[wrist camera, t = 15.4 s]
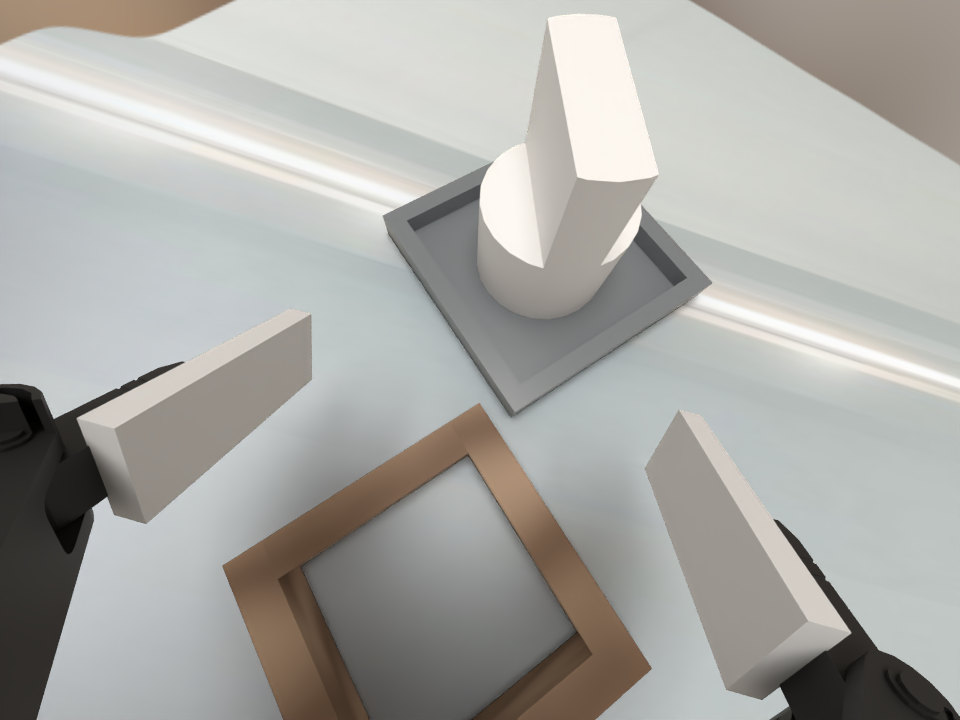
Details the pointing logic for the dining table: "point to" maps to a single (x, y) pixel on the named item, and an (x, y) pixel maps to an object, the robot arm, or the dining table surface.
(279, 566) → the walnut collar
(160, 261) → the dining table surface
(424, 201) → the charcoal tray
